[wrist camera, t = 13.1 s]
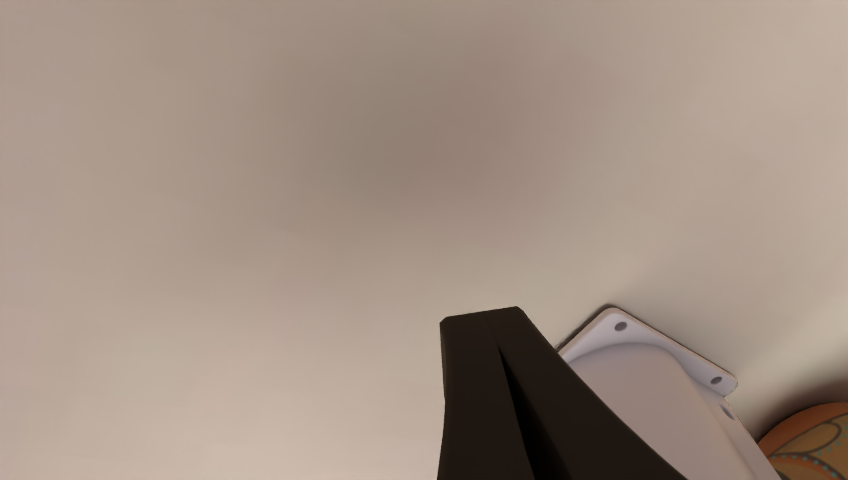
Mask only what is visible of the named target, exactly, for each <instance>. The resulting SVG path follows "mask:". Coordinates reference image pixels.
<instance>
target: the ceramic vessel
mask: <svg viewBox="0 0 848 480" xmlns="http://www.w3.org/2000/svg"><path fill="white" fill-rule="evenodd" d="M757 445H758V447H759V448H760V450H761V451H762V452H763V454H764V455H765V457H766V458H767V460H768V461H769V462H770V464H771V465H772V467H773V468H774V470H775V471H776V472H777V474H778V475H779V477H780V478H781V480H848V402H833V403H825V404H820V405H816V406H813V407H810V408H807V409H805V410H802V411H800V412H798V413H796V414H794V415H792V416H790V417H788V418H786V419H785V420H783V421H782V422H780V423H779V424H777V425H776V426H775V427H773V428H772V429H771V430H770V431H769V432H768V433H767V434H766V435H765V436H764V437H763V438H762V439H761V440H760V441H759V443H758V444H757Z"/></svg>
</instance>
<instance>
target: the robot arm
mask: <svg viewBox="0 0 848 480" xmlns="http://www.w3.org/2000/svg"><path fill="white" fill-rule="evenodd" d="M620 322H621V323H620ZM618 323H619V324H618ZM440 337H441V353H442V369H443V385H444V397H445V415H444V428H443V437H442V445H441V453H440V460H439V468H438V476H437V480H781V478H780V477H779V475H778V474H777V472H776V471H775V470H774V468H773V467H772V465H771V464H770V462H769V461H768V460H767V458H766V457H765V455H764V454H763V452H762V451H761V450H760V448H759V447H758V445H757V444H756V443H755V441H754V440H753V438H752V437H751V435H750V434H749V433H748V431H747V430H746V428H745V427H744V425H743V424H742V423H741V421H740V420H739V418H738V417H737V415H736V414H735V413H734V411H733V410H732V408H731V407H730V405H729V404H728V403H727V401H726V400H725V398H724V397H725V396H727V395H728V394H729V393H731V392H732V391H733V390H734V389H735V388H736V387H737V385H738V382H737V380H736V379H735V378H734V376H733V375H731V374H730V373H728V372H726V371H724V370H723V369H721V368H719V367H718V366H716V365H714V364H712V363H711V362H709V361H707V360H706V359H704V358H702V357H700V356H699V355H697V354H695V353H694V352H692V351H690V350H688V349H687V348H685V347H683V346H682V345H680V344H678V343H676V342H675V341H673V340H671V339H670V338H668V337H666V336H664V335H663V334H661V333H659V332H658V331H656V330H654V329H652V328H651V327H649V326H647V325H646V324H644V323H642V322H640V321H639V320H637V319H635V318H634V317H632V316H630V315H628V314H627V313H625V312H623V311H622V310H620V309H618V308H608V309H605V310H604V311H603V312H601V313H600V314H599V315H598V316H597V317H596V318H595V319H594V320H593V321H592V322H591V323H589V324H588V325H587V326H586V327H585V328H584V329H583V330H582V331H581V332H580V333H578V334H577V335H576V336H575V337H574V338H573V339H572V340H571V341H570V342H569V343H568V344H566V345H565V346H564V347H563V348H562V349H561V350H560V351H559V352H558V353H557V351H556V350H555V349H554V348H553V347H552V346H551V344H550V343H549V342H548V341H547V340H546V339H545V337H544V336H543V335H542V334H541V333H540V331H539V330H538V329H537V328H536V327H535V325H534V324H533V323H532V322H531V320H530V319H529V318H528V317H527V315H526V314H525V313H524V311H523V310H521V309H520V308H519V307H517V306H515V307H508V308H502V309H495V310H488V311H482V312H475V313H469V314H462V315H456V316H449V317H446V318H444V319H443V320H442V321H441V322H440Z"/></svg>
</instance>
